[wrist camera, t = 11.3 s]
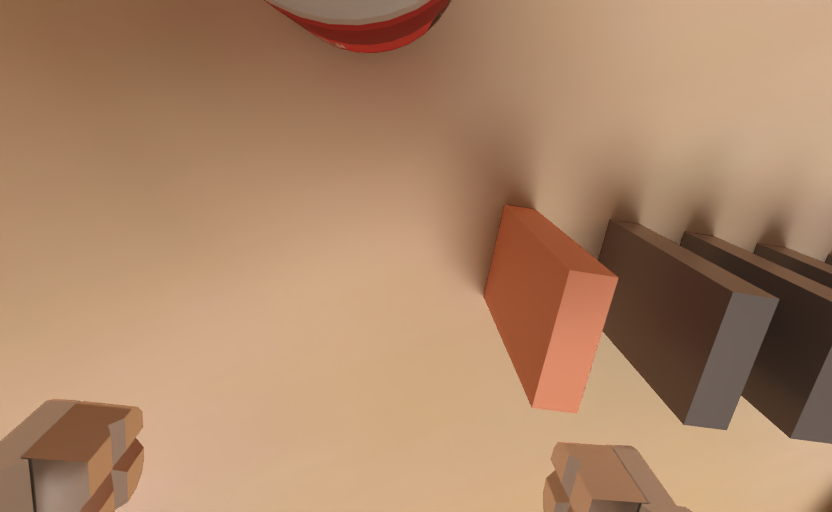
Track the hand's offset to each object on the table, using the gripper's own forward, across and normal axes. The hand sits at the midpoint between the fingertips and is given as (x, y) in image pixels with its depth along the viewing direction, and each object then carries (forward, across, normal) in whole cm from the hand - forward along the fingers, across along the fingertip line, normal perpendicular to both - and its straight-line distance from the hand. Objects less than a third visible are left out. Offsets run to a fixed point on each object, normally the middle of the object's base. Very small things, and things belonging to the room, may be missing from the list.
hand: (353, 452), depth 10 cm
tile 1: (+16, -12, 0) cm, 21 cm away
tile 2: (+16, -16, 0) cm, 23 cm away
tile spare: (+16, -7, 0) cm, 18 cm away
